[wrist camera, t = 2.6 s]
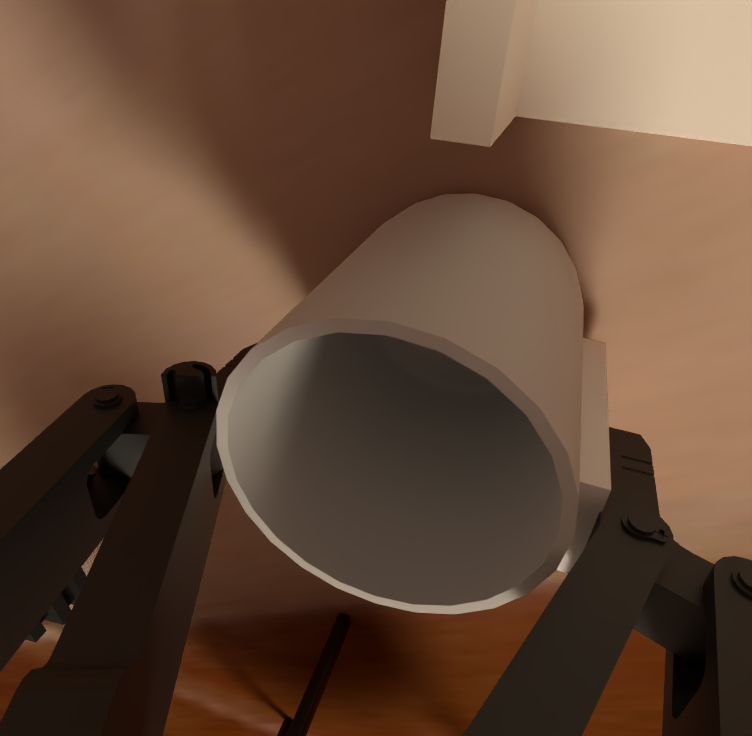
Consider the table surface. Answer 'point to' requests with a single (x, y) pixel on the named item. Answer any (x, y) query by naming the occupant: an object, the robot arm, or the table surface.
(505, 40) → the tray
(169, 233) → the table surface
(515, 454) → the cup
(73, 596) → the chess piece
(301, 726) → the planter
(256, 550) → the table surface
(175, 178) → the table surface
